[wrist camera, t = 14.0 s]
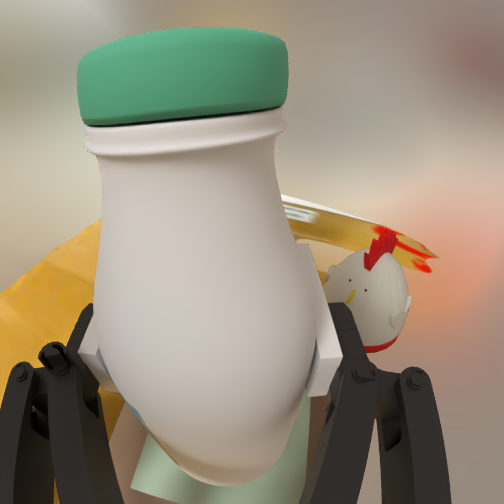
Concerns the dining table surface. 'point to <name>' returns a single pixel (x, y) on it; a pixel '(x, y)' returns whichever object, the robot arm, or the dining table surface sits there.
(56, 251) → the dining table surface
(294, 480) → the walnut stand
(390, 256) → the kitchen timer
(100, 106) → the milk bottle
